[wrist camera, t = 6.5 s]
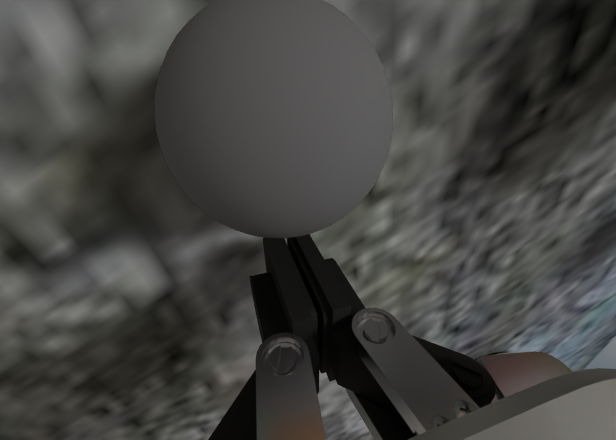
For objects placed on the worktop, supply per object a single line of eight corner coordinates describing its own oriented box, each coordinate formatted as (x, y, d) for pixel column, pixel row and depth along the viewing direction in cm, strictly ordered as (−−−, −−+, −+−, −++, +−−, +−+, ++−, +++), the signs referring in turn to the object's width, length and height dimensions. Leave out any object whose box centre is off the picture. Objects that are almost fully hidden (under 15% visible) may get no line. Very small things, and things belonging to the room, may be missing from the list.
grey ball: (510, 93, 5) (371, 10, 8) (132, -46, 2) (158, -82, 6) (363, 275, 8) (308, 164, 12) (150, 292, 6) (160, 146, 9)
